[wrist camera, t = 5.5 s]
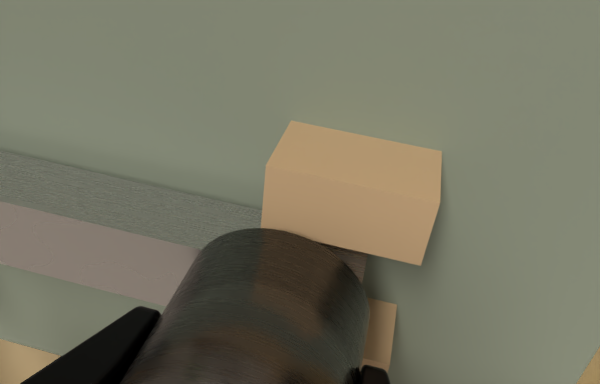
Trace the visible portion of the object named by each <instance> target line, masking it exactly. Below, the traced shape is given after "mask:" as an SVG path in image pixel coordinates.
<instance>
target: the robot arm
mask: <svg viewBox="0 0 600 384" xmlns="http://www.w3.org/2000/svg"><path fill="white" fill-rule="evenodd" d="M160 316H161V313H160V312H159V311H158V310H155V309H151V308H148V307H144V306H138V307H135V308H133V309H132V310H130V311H129V312H127V313H126V314H124V315H123V316H121V317H120V318H118V319H117V320H115V321H114V322H112V323H111V324H109V325H108V326H106V327H105V328H103V329H102V330H100V331H99V332H97V333H96V334H94V335H93V336H91V337H90V338H88V339H87V340H85V341H84V342H82V343H81V344H79V345H78V346H76V347H75V348H73V349H72V350H70V351H69V352H67V353H66V354H64V355H63V356H61V357H60V358H58V359H57V360H55V361H54V362H52V363H51V364H49V365H48V366H46V367H45V368H43V369H42V370H40V371H39V372H37V373H35V374H34V375H32V376H31V377H29V378H28V379H26V380H25V381H23V382H22V383H20V384H120V382H121V380H122V379H123V377H124V375H125V374H126V372H127V370H128V369H129V367H130V365H131V364H132V362H133V360H134V359H135V357H136V356H137V354H138V352H139V351H140V349H141V347H142V346H143V344H144V342H145V341H146V339H147V337H148V336H149V334H150V332H151V331H152V329H153V327H154V326H155V324H156V323H157V321H158V319H159V318H160ZM358 384H391V383H390V379H389V376H388V374H387V372H386V371H385V370H384V369H382V368H378V367H374V366H370V365H363V366H362V369H361V372H360V377H359V383H358Z"/></svg>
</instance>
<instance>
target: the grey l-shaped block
mask: <svg viewBox="0 0 600 384" xmlns="http://www.w3.org/2000/svg"><path fill="white" fill-rule="evenodd" d="M261 218H262V210H258V209H254V208H249V207H245V206H241V205H236V204H232V203H227V202H223V201H219V200H214V199H210V198H206V197H201V196H197V195H192V194H188V193H184V192H179V191H175V190H171V189H166V188H162V187H157V186H153V185H149V184H144V183H140V182H135V181H131V180H127V179H122V178H118V177H114V176H109V175H105V174H100V173H96V172H92V171H87V170H83V169H78V168H74V167H70V166H65V165H61V164H57V163H52V162H48V161H43V160H39V159H35V158H30V157H26V156H22V155H17V154H13V153H8V152H4V151H0V264H3V265H7V266H11V267H15V268H19V269H23V270H27V271H31V272H34V273H38V274H42V275H46V276H50V277H54V278H58V279H61V280H65V281H69V282H73V283H77V284H81V285H85V286H89V287H92V288H96V289H100V290H104V291H108V292H112V293H116V294H120V295H123V296H127V297H131V298H135V299H139V300H143V301H147V302H151V303H154V304H158V305H162V306H166V308H165V309H164V311H163V313H162V314H161V316H160V318H159V319H158V321H157V323H156V324H155V326H154V327H153V329H152V331H151V332H150V334H149V336H148V337H147V339H146V341H145V342H144V344H143V346H142V347H141V349H140V351H139V352H138V354H137V356H136V357H135V359H134V360H133V362H132V364H131V365H130V367H129V369H128V370H127V372H126V374H125V375H124V377H123V379H122V380H121V382H120V384H358V383H359V377H360V372H361V367H362V361H363V355H364V349H365V343H366V338H367V332H368V326H369V320H370V308H369V303H368V298H367V295H366V293H365V290H364V288H363V286H362V280H363V275H364V271H365V266H366V261H367V256H368V253H363V252H359V251H355V250H351V249H346V248H342V247H338V246H333V245H329V244H325V243H320V242H316V241H312V240H310V239H307V238H305V237H302V236H300V235H297V234H294V233H290V232H287V231H282V230H276V229H267V228H261Z"/></svg>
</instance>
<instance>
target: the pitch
mask: <svg viewBox="0 0 600 384" xmlns="http://www.w3.org/2000/svg"><path fill="white" fill-rule="evenodd" d="M0 151H4V152H8V153H13V154H17V155H22V156H26V157H30V158H35V159H39V160H43V161H48V162H52V163H57V164H61V165H65V166H70V167H74V168H78V169H83V170H87V171H92V172H96V173H100V174H105V175H109V176H114V177H118V178H122V179H127V180H131V181H135V182H140V183H144V184H149V185H153V186H157V187H162V188H166V189H171V190H175V191H179V192H184V193H188V194H192V195H197V196H201V197H206V198H210V199H214V200H219V201H223V202H227V203H232V204H236V205H241V206H245V207H249V208H254V209H258V210H262V218H261V228H267V229H276V230H282V231H287V232H290V233H294V234H297V235H300V236H302V237H305V238H307V239H310V240H312V241H316V242H320V243H325V244H329V245H333V246H338V247H342V248H346V249H351V250H355V251H359V252H363V253H368V256H367V261H366V266H365V271H364V275H363V280H362V286H363V288H364V290H365V293H366V295H367V298H368V303H369V308H370V320H369V326H368V332H367V338H366V343H365V349H364V355H363V361H362V366H363V365H370V366H374V367H378V368H382V369H384V370H385V371H386V372H387V374H388V376H389V379H390V383H391V384H576V383H577V381H578V380H579V378H580V377H581V375H582V374H583V372H584V370H585V369H586V367H587V366H588V364H589V362H590V361H591V359H592V358H593V356H594V355H595V353H596V351H597V350H598V348H599V347H600V0H0ZM138 306H144V307H148V308H151V309H155V310H158V311H159V312H160V313H161V314H162V313H163V311H164V309H165V308H166V306H162V305H158V304H154V303H151V302H147V301H143V300H139V299H135V298H131V297H127V296H123V295H120V294H116V293H112V292H108V291H104V290H100V289H96V288H92V287H89V286H85V285H81V284H77V283H73V282H69V281H65V280H61V279H58V278H54V277H50V276H46V275H42V274H38V273H34V272H31V271H27V270H23V269H19V268H15V267H11V266H7V265H3V264H0V339H3V340H7V341H10V342H14V343H17V344H21V345H25V346H28V347H32V348H35V349H39V350H42V351H46V352H50V353H53V354H57V355H60V356H63V355H64V354H66V353H67V352H69V351H70V350H72V349H73V348H75V347H76V346H78V345H79V344H81V343H82V342H84V341H85V340H87V339H88V338H90V337H91V336H93V335H94V334H96V333H97V332H99V331H100V330H102V329H103V328H105V327H106V326H108V325H109V324H111V323H112V322H114V321H115V320H117V319H118V318H120V317H121V316H123V315H124V314H126V313H127V312H129V311H130V310H132V309H133V308H135V307H138ZM361 369H362V367H361Z"/></svg>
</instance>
